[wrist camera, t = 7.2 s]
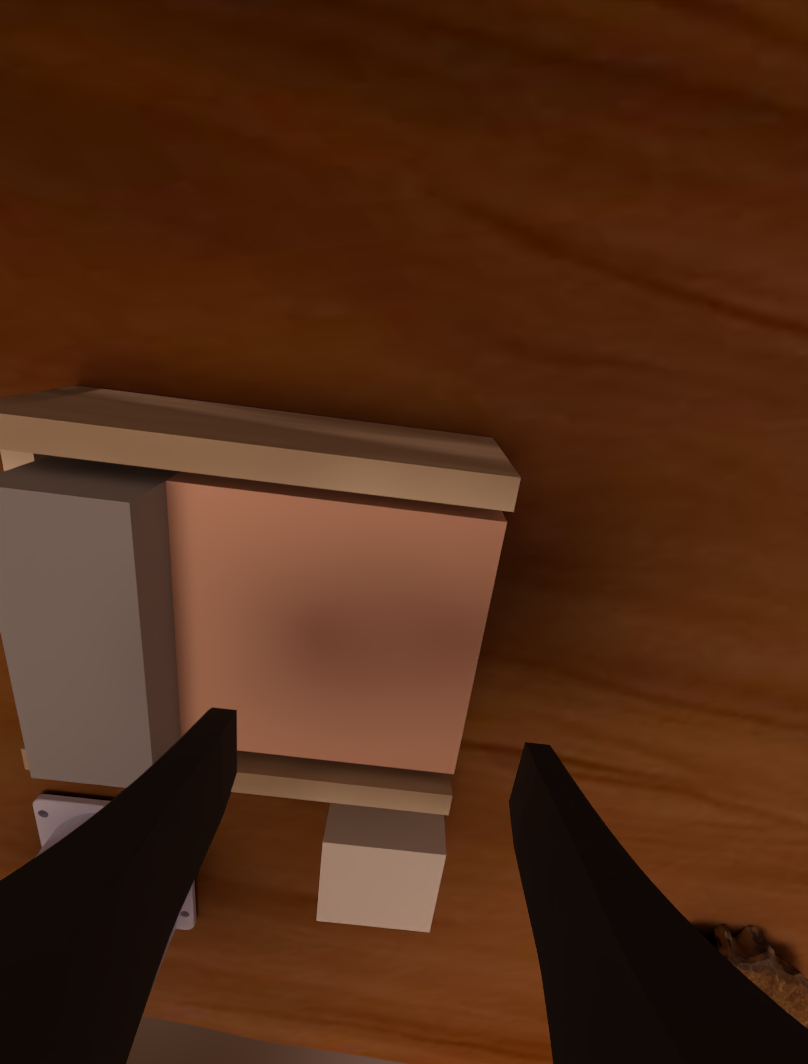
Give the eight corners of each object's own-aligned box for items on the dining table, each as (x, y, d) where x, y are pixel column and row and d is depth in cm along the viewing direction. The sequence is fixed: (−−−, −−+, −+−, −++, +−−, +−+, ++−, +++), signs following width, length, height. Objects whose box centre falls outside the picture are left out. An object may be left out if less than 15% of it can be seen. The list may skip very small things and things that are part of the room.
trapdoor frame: (441, 711, 24) (448, 815, 19) (110, 673, 23) (25, 769, 18) (492, 437, 19) (520, 477, 14) (76, 385, 19) (-53, 406, 13)
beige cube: (427, 828, 27) (429, 932, 22) (333, 818, 27) (316, 920, 22) (440, 757, 25) (446, 855, 20) (340, 746, 25) (322, 842, 20)
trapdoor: (452, 753, 20) (458, 823, 17) (87, 712, 19) (31, 777, 16) (501, 510, 16) (519, 549, 13) (49, 455, 15) (-31, 483, 13)
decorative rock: (724, 1055, 35) (803, 909, 30) (765, 1142, 31) (865, 992, 26) (565, 1053, 35) (619, 903, 29) (587, 1142, 31) (654, 987, 26)
